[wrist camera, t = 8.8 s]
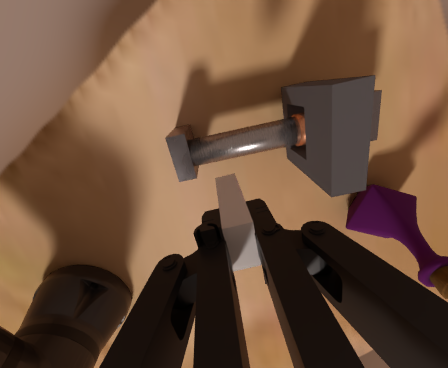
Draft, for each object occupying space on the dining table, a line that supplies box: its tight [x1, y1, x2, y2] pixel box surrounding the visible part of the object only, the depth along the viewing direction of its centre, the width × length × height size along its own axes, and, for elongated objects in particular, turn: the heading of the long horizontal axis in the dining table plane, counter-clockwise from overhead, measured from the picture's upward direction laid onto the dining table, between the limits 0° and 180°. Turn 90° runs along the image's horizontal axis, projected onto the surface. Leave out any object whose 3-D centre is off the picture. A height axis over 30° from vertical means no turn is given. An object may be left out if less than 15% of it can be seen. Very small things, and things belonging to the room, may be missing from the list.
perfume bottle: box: [346, 184, 448, 299], centre depth 25 cm, size 8×8×18 cm
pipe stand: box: [165, 90, 382, 182], centre depth 25 cm, size 22×5×7 cm, turn 101°
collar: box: [281, 75, 375, 197], centre depth 22 cm, size 3×9×12 cm, turn 11°
